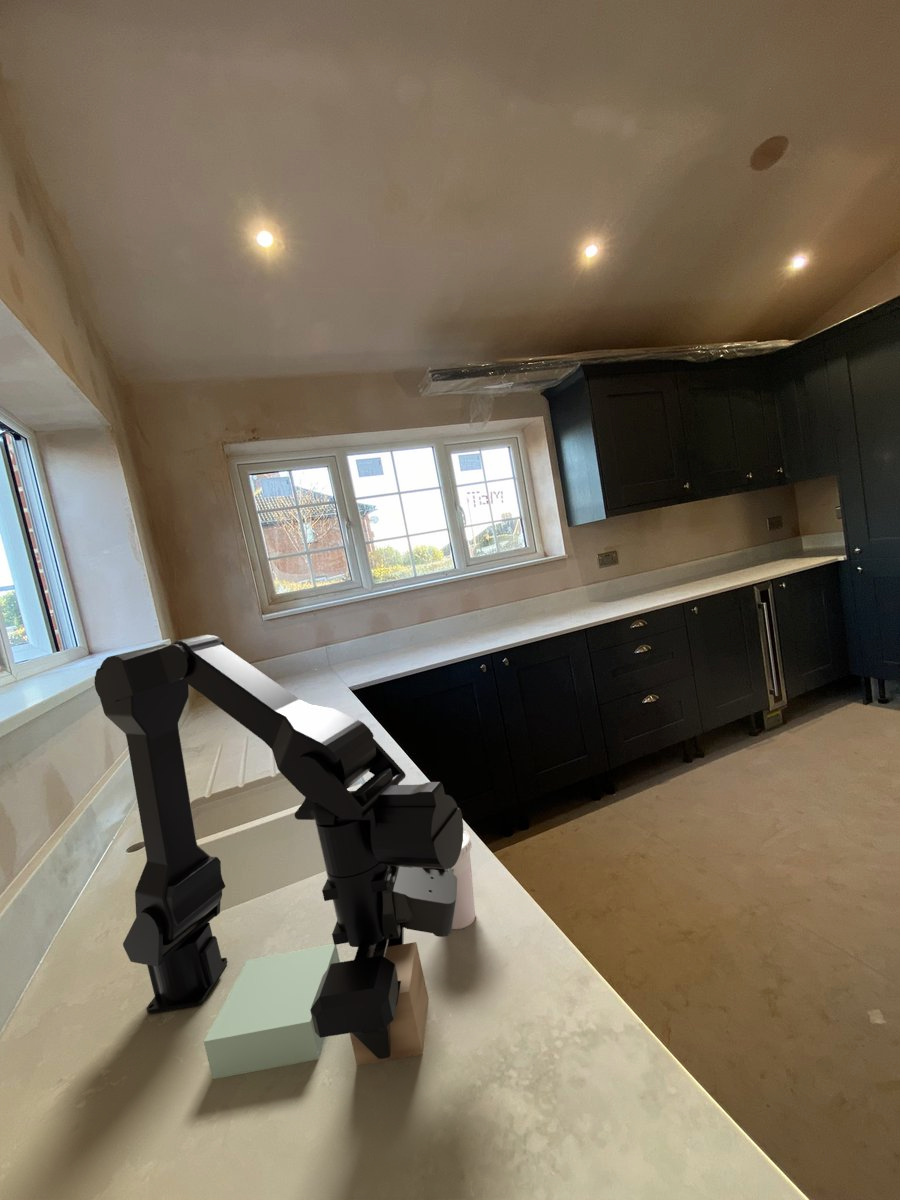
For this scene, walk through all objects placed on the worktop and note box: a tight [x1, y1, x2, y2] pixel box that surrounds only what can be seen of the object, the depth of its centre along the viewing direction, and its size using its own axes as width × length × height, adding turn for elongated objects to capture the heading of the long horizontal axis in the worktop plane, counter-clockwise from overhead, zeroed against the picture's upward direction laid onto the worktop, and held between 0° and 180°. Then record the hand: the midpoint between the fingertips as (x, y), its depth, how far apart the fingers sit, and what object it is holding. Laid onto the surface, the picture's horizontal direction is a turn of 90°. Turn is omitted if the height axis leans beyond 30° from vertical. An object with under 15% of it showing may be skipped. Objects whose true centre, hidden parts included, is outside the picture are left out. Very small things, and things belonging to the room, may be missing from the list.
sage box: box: [203, 942, 341, 1080], centre depth 52 cm, size 10×10×4 cm
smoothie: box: [448, 829, 476, 930], centre depth 62 cm, size 6×6×14 cm
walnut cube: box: [349, 941, 429, 1066], centre depth 48 cm, size 6×6×6 cm
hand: (391, 1016), depth 49 cm, fingers open, 8 cm apart
